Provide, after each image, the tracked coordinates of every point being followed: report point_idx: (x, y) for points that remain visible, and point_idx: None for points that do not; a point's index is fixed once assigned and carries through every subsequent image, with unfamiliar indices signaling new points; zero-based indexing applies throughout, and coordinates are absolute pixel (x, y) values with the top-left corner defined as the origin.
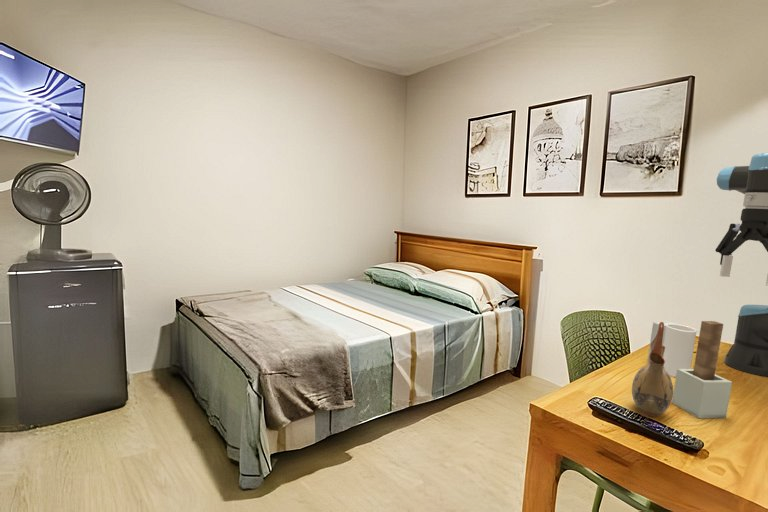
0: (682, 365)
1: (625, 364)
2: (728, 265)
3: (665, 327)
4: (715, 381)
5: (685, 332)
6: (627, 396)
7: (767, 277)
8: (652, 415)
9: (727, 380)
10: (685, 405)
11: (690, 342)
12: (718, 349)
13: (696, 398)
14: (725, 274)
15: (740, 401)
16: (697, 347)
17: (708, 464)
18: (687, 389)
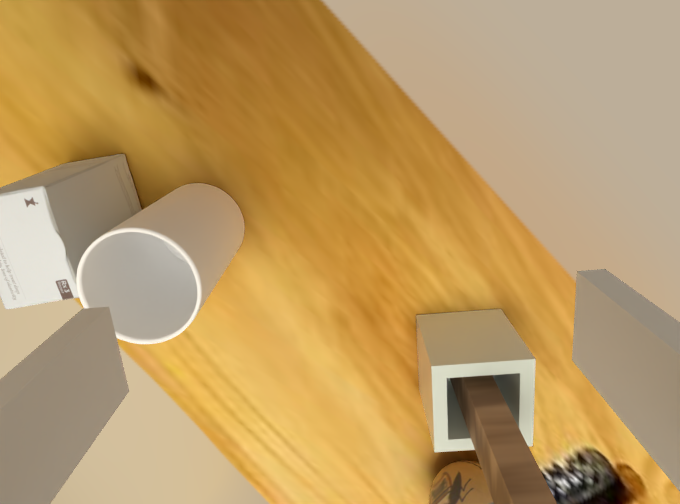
0: (235, 249)
1: (150, 347)
2: (52, 414)
3: (77, 297)
4: (529, 408)
5: (200, 307)
6: (386, 475)
7: (614, 405)
8: None
9: (522, 363)
10: None
11: (213, 264)
12: (528, 449)
13: None
14: (111, 369)
15: (407, 171)
16: (490, 493)
17: (662, 494)
18: None
